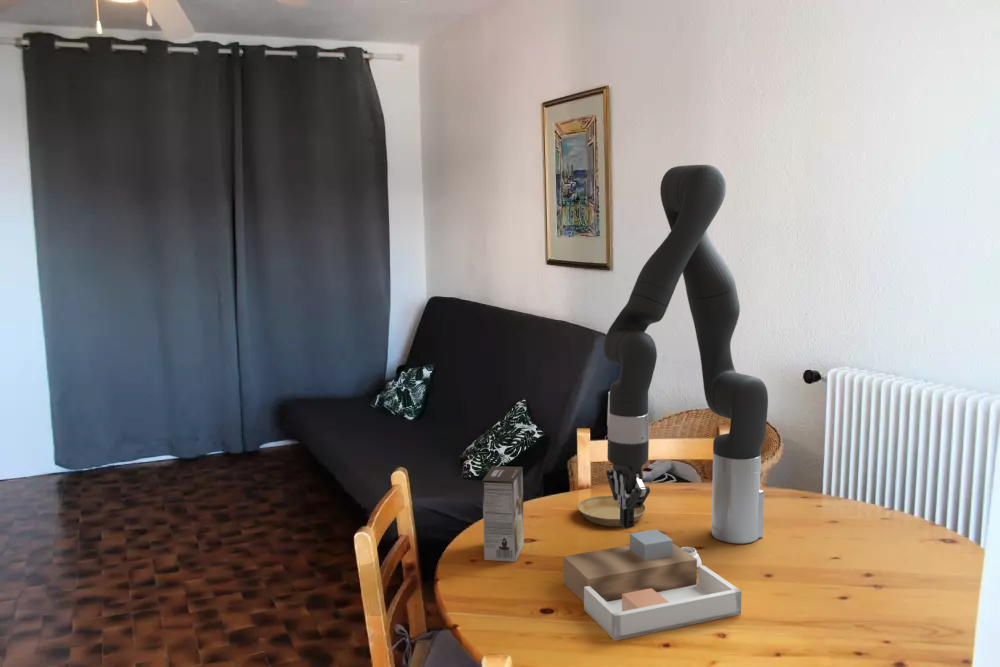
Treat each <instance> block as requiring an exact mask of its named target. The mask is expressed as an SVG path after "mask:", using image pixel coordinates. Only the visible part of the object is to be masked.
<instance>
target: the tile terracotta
mask: <svg viewBox="0 0 1000 667" xmlns="http://www.w3.org/2000/svg"><path fill="white" fill-rule="evenodd" d="M667 602H668V601H667V600H666V599H665V598H663V597H662V596H661V595H659V594H658V593H657V592H656V591H654V590H653V589H652V588H650V589H645V590H640V591H635V592H630V593H625V594H622V611H627V610H632V609H637V608H642V607H647V606H652V605H657V604H662V603H667Z"/></svg>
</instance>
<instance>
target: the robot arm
mask: <svg viewBox="0 0 1000 667" xmlns="http://www.w3.org/2000/svg"><path fill="white" fill-rule="evenodd" d="M659 188H660V189H659V190H660V191H659V192H660V193H659V194H660V199H661V200H660V201H661V204H662V207H663V211H664V214H665V216H666V219H667V222H668V225H669V229H670V231H669V233H668V235H667V236H666V238H665V239H664V240H663V241H662V242H661V244H660V245H659V246H658V247H657V249H656V250H655V251H654V252H653V253H652V255H651V256H650V257H649V259H647V261H645V262H646V263H644V264H643V267H642V268H641V270H640V272H639V274H638V276H637V279H636V282H635V283H634V285H633V288H632V291H631V293H630V295H629V298H628V301H627V303H626V304H625V306H624V307H623V308H622V309H621V311H620V312H619V313H618V314H617V316H616V318H615V319H614V321H613V322H612V324H611V326H610V327H609V329H608V330H607V333H606V335H605V338H604V343H603V353H604V356H605V358H606V359H607V360H608V362H610V363H611V364H612V365H616V366H619V367H621V374H620V378H619V379H617V380H615V381H612V383H611V385H610V387H609V388H610V389H609V407H608V408H609V410H608V411H609V415H608V419H607V420H608V421H607V456H606V457H607V461H608V462H609V463H611V464H612V469H610V470H609V469H608V470H606V477H607V481H608V483H609V487H610V490H611V494H612V496H613V498H614V500H615V501H616V500H617V501H618V506H619V507H620V525H621V526H620V527H622V528H623V529H631V528H633V527H634V526H635V522H634V509H635V508H641V507H642V505H643V504H645V501H646V499H647V497H648V496H649V494H650V492H651V488H650V487H649V485H647V486H645V484H644V483H643V479H644V474H643V469H642V468H643V466H644V465H646V464H647V463H648V461H649V452H650V450H649V447H650V446H649V444H650V423H649V414H648V413H649V390H650V386H651V383H652V380H653V376H654V372H655V368H656V365H657V357H658V355H657V353H658V352H657V346H656V344H655V341H654V339H653V338H652V336H651V335H650V334H648V333H647V332H646V331H647V330H648V327H649V326H650V325H653V324H655V323H658V322H661V320H662V319H663V318H664V316H665V314H666V312H667V310H668V307H669V304H670V302H671V300H672V297H673V295H674V292H675V290H676V287H677V285H678V283H679V280H680V278H681V276H683V277H682V278H683V281H684V285H685V290H686V291H685V292H686V296H687V301H688V305H689V310H690V313H691V317H692V322H693V324H694V329H695V335H696V341H697V346H698V351H699V358H700V365H701V375H702V383H703V391H704V396H705V401H706V403H707V407H708V408H709V410H710V411H711V412H712V413H713V414H715V415H717V416H719V417H723V418H725V419H729V420H730V425H729V431H728V433H724V434H718V435H717V436H716V437H715V438H714V439H713V443H712V444H713V445H712V484H711V485H712V487H711V488H712V489H711V490H712V491H711V493H712V494H711V495H712V496H711V535H712V537H713V538H714V539H717V540H718V541H721V542H725V543H730V544H749V543H754V542H756V541H758V539H759V538H763V537H764V508H765V507H764V506H765V492H764V490H762V489H761V462H762V461H761V459H762V448H763V445H764V442H765V438H766V433H767V421H768V420H767V419H768V409H769V395H768V388H767V386H766V384H765V382H764V381H763V380H762V379H760V378H759V377H757V376H753V375H748V374H744V373H739V372H737V371H736V369H735V366H734V361H733V358H732V351H731V344H732V343H731V341H732V339H733V338H732V337H733V334H734V333H735V329H736V327H737V324H738V321H739V316H740V312H741V311H740V310H741V305H740V299H739V294H738V290H737V284H736V281H735V276H734V275H733V272H732V271H731V268H730V267H729V265H728V264H727V262H726V260H725V259H724V257H723V256H722V254H721V253H720V252H719V250H718V249H717V247H716V246H715V244H714V243H713V241H712V239H711V237H710V236H709V233H708V228H709V227H710V225H711V223H712V222H713V220H714V218H715V217H716V215H717V214H718V211H720V208H721V207H722V204H723V202H724V200H725V197H726V194H727V193H726V192H727V181H726V177H725V175H724V174H723V172H722V171H721V170H720V169H719V168H718V167H716V166H714V165H711V164H691V165H690V164H688V165H686V164H685V165H677V166H673V167H671V168H669V169H668V170H667V171H666V172H665V173H664V175H663V176H662V180H661V183H660V187H659Z"/></svg>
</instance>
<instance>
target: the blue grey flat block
mask: <svg viewBox="0 0 1000 667" xmlns="http://www.w3.org/2000/svg"><path fill="white" fill-rule="evenodd" d="M673 541H674V540H673V539H672V538H670V537H669V536H667V535H666V534H664V533H663V532H661V531H660V530H659V529H656V528H655V529H650V530H643V531H639V532H632V533H629V545H630V550H631V551H632V552H633V553H635V554H636V555H637V556H639V557H640V558H641V559H643V560H644V561H649V560H654V559H660V558H666V557H671V556H672V543H674V542H673Z"/></svg>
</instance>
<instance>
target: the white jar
mask: <svg viewBox="0 0 1000 667" xmlns="http://www.w3.org/2000/svg"><path fill="white" fill-rule="evenodd" d="M680 548H681V549H682V550H684V551H685V552H687V553H688V554H690V555H691V556H693V557H694V558H696V559H697V569H698V566H701V565H703V564H702V560H701V557H700V555H699V553H697V550H696V548H694V547H690V546H683V547H680Z"/></svg>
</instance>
